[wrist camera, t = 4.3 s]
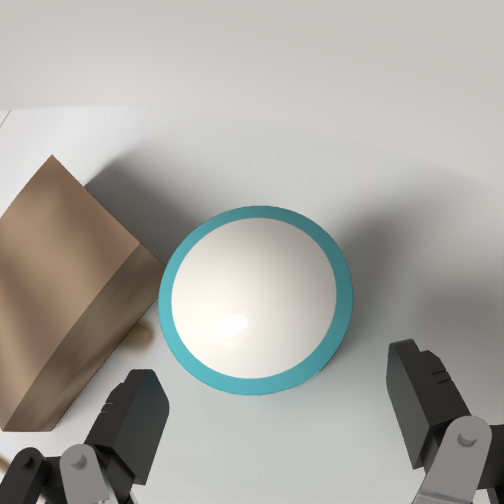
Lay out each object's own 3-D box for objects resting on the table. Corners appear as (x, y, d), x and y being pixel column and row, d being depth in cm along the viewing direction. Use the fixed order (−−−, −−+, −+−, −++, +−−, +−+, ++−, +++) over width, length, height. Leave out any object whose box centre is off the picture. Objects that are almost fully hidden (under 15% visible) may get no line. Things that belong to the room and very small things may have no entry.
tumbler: (275, 277, 19) (240, 176, 10) (350, 331, 17) (391, 271, 8) (216, 348, 18) (124, 307, 9) (289, 408, 16) (263, 437, 7)
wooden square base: (83, 186, 26) (52, 154, 21) (176, 275, 20) (140, 243, 16) (-10, 312, 23) (-47, 296, 18) (50, 431, 17) (2, 431, 13)
